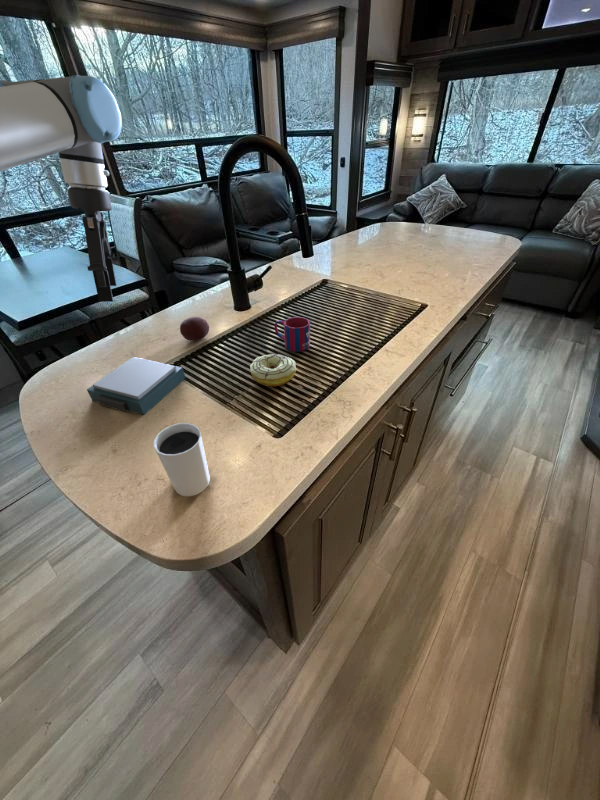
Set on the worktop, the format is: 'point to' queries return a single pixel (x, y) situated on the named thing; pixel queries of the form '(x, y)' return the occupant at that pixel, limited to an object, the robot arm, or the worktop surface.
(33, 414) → the worktop surface
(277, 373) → the decorated donut
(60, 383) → the worktop surface
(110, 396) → the scale
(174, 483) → the white coffee cup
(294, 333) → the mug
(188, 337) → the plum
